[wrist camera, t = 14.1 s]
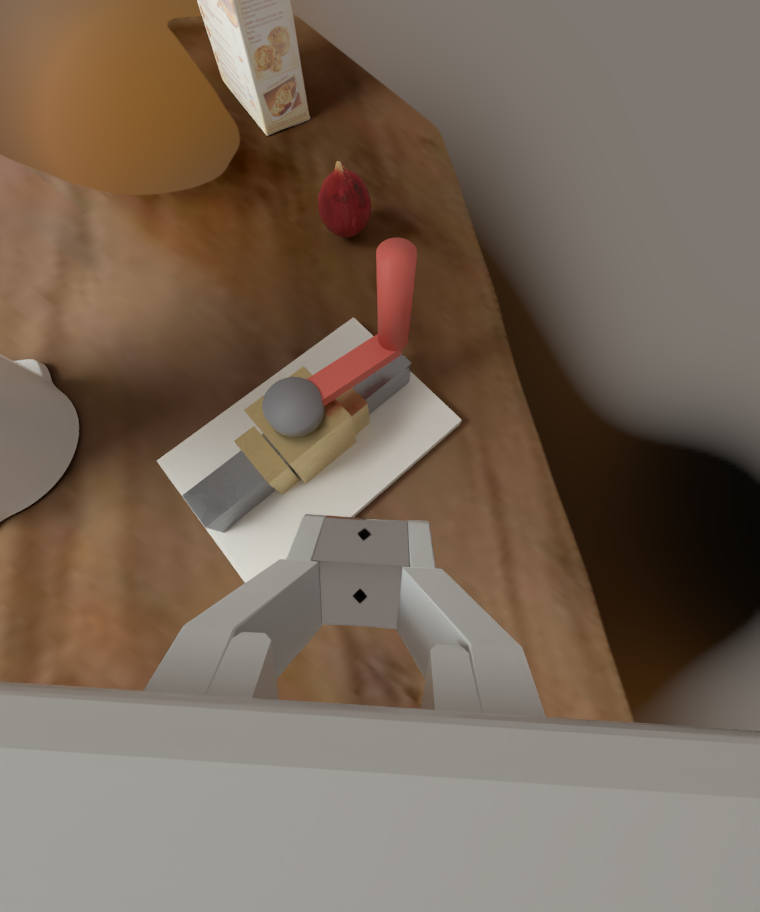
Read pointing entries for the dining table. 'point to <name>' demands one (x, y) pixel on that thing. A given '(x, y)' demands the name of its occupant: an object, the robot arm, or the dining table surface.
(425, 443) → the mounting board
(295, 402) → the lever
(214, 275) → the dining table surface
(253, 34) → the coffeecake box
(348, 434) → the valve and pipe
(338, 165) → the onion
